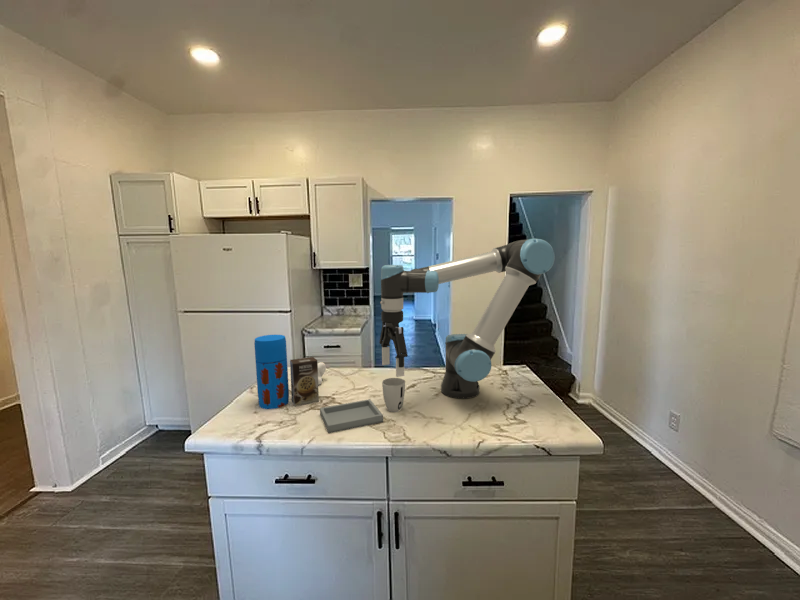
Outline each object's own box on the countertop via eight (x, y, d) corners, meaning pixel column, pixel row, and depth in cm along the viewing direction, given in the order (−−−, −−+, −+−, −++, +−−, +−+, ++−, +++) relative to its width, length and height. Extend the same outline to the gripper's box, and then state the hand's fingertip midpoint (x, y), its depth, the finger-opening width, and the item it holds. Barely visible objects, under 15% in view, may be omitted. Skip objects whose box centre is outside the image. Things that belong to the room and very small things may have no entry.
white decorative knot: (292, 387, 148) (290, 366, 147) (305, 377, 160) (304, 358, 159) (316, 389, 146) (316, 367, 145) (328, 378, 157) (328, 359, 156)
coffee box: (294, 406, 129) (292, 364, 127) (291, 400, 134) (289, 359, 132) (319, 401, 133) (317, 360, 131) (315, 395, 138) (313, 355, 136)
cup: (403, 414, 121) (402, 386, 120) (380, 412, 123) (379, 385, 122) (407, 404, 129) (406, 378, 128) (385, 403, 131) (385, 377, 129)
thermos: (294, 402, 132) (291, 337, 129) (267, 412, 124) (262, 342, 121) (280, 395, 140) (276, 333, 136) (253, 403, 132) (248, 338, 129)
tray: (370, 405, 129) (369, 399, 128) (383, 422, 116) (383, 414, 116) (320, 414, 122) (319, 408, 122) (328, 433, 109) (328, 425, 109)
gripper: (370, 306, 131) (371, 361, 134) (395, 316, 109) (396, 383, 111) (389, 304, 134) (389, 359, 137) (417, 315, 111) (417, 379, 114)
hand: (392, 370), depth 124 cm, fingers open, 13 cm apart
